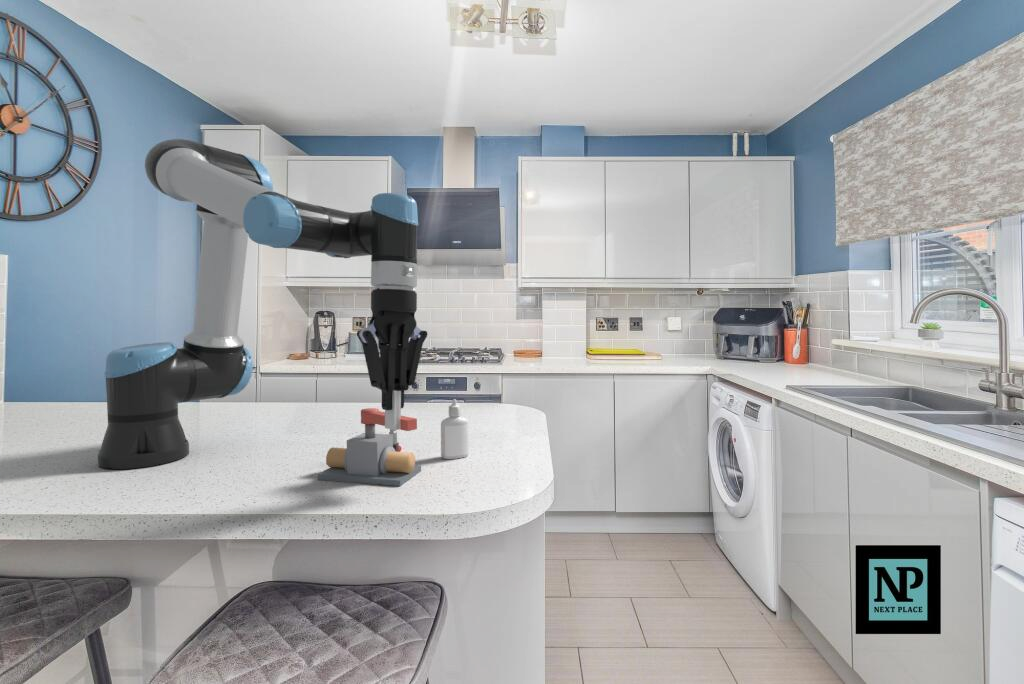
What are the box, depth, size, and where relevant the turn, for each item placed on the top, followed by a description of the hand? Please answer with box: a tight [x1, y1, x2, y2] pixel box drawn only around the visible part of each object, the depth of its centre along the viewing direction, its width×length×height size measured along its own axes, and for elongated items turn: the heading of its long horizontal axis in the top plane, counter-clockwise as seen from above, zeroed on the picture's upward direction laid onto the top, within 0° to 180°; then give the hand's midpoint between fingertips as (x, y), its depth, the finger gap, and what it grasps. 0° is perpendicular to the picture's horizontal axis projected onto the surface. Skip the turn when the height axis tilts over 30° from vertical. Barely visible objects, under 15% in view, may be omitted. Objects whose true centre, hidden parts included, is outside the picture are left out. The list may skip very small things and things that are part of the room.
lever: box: [360, 407, 418, 432], centre depth 90 cm, size 14×3×2 cm, turn 50°
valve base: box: [317, 424, 422, 487], centre depth 94 cm, size 16×9×10 cm, turn 77°
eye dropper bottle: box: [440, 399, 470, 460], centre depth 106 cm, size 4×6×12 cm
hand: (392, 428), depth 87 cm, fingers closed
